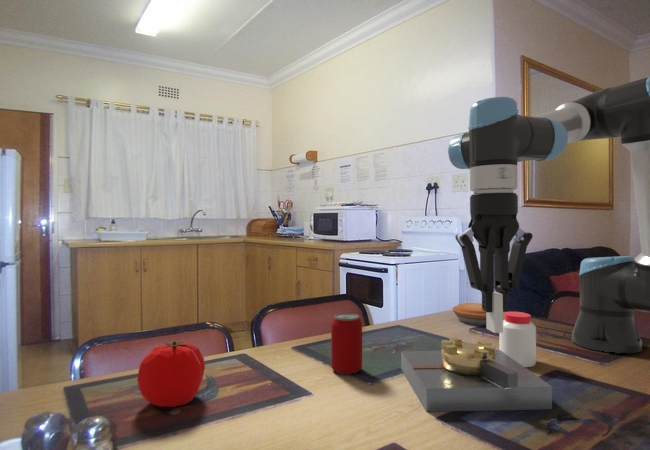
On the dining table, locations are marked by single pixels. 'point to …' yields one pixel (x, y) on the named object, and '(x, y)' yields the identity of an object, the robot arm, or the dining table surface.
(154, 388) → the tomato
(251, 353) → the dining table surface
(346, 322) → the beverage can
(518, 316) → the pill bottle
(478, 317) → the pie
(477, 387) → the housing
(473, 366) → the studded gold disc
